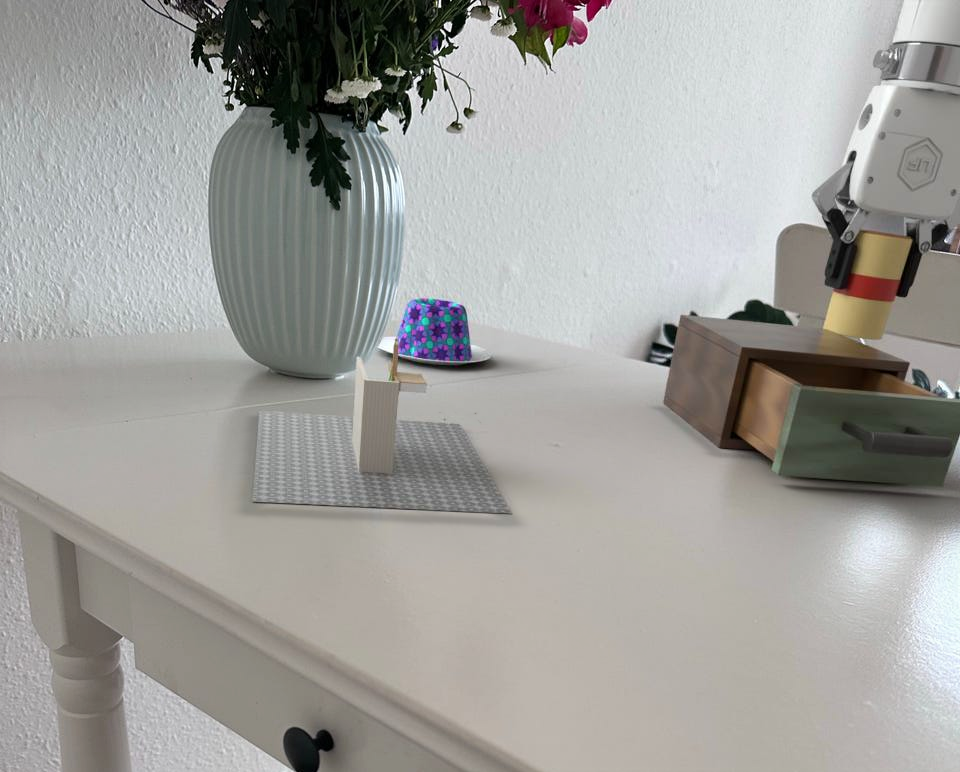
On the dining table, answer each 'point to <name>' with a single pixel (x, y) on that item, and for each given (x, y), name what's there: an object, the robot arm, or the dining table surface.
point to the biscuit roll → (869, 286)
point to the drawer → (846, 423)
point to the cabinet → (723, 361)
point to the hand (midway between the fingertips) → (865, 289)
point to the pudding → (435, 334)
